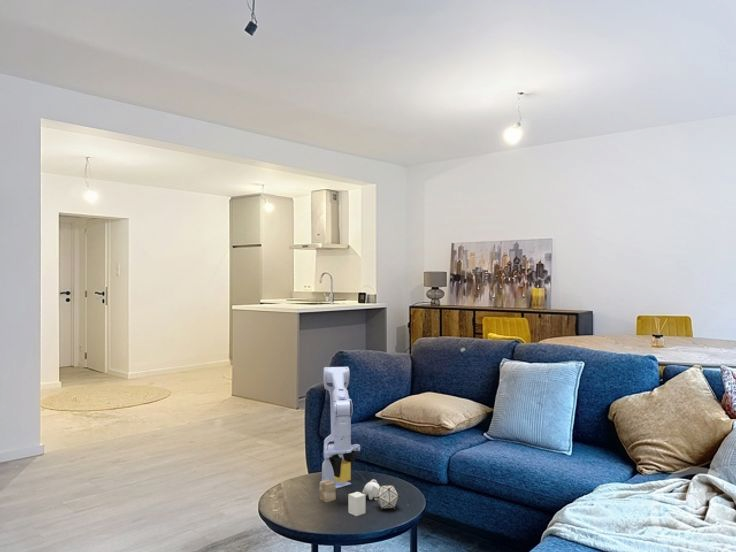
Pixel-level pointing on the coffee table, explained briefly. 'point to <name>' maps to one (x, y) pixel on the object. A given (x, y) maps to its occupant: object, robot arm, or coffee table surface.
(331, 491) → the birch bar
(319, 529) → the coffee table surface
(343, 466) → the mustard bar
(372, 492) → the elephant figurine
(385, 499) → the game die
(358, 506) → the off-white bar
